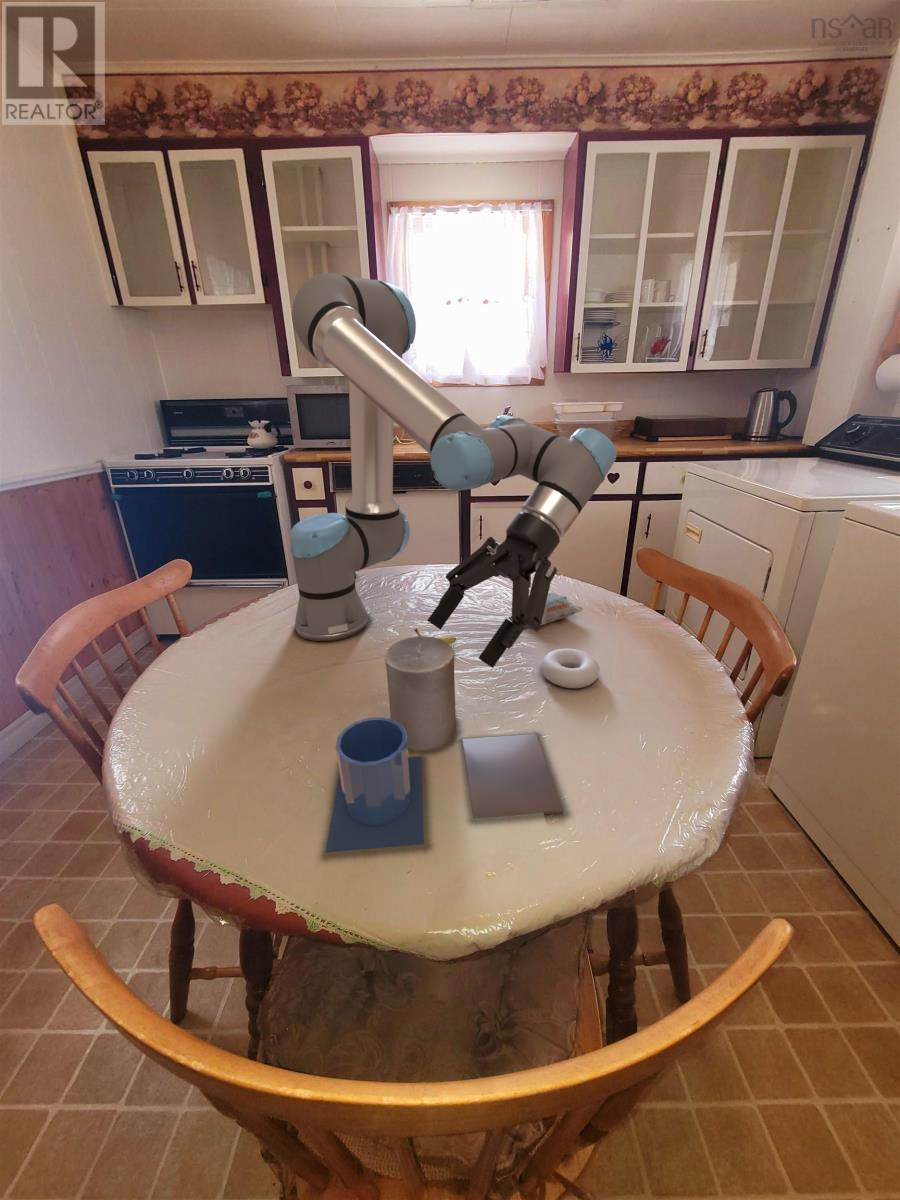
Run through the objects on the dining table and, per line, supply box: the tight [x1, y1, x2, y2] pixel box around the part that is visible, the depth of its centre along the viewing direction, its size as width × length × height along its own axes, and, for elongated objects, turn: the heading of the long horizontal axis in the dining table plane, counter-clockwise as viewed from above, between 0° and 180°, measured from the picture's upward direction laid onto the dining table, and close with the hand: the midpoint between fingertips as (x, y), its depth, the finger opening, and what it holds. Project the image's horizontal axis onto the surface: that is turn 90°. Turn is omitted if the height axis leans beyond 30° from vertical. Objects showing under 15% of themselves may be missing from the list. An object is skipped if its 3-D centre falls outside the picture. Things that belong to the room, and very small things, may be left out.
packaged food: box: [541, 592, 583, 626], centre depth 105 cm, size 9×12×5 cm
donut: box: [540, 648, 600, 689], centre depth 85 cm, size 10×4×10 cm
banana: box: [414, 628, 457, 645], centre depth 95 cm, size 8×2×4 cm, turn 88°
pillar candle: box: [385, 635, 457, 751], centre depth 70 cm, size 10×10×15 cm
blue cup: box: [335, 716, 411, 826], centre depth 59 cm, size 8×8×10 cm
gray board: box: [461, 733, 565, 819], centre depth 65 cm, size 14×11×1 cm
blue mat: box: [325, 756, 425, 853], centre depth 61 cm, size 14×11×1 cm
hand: (457, 643), depth 70 cm, fingers open, 13 cm apart
